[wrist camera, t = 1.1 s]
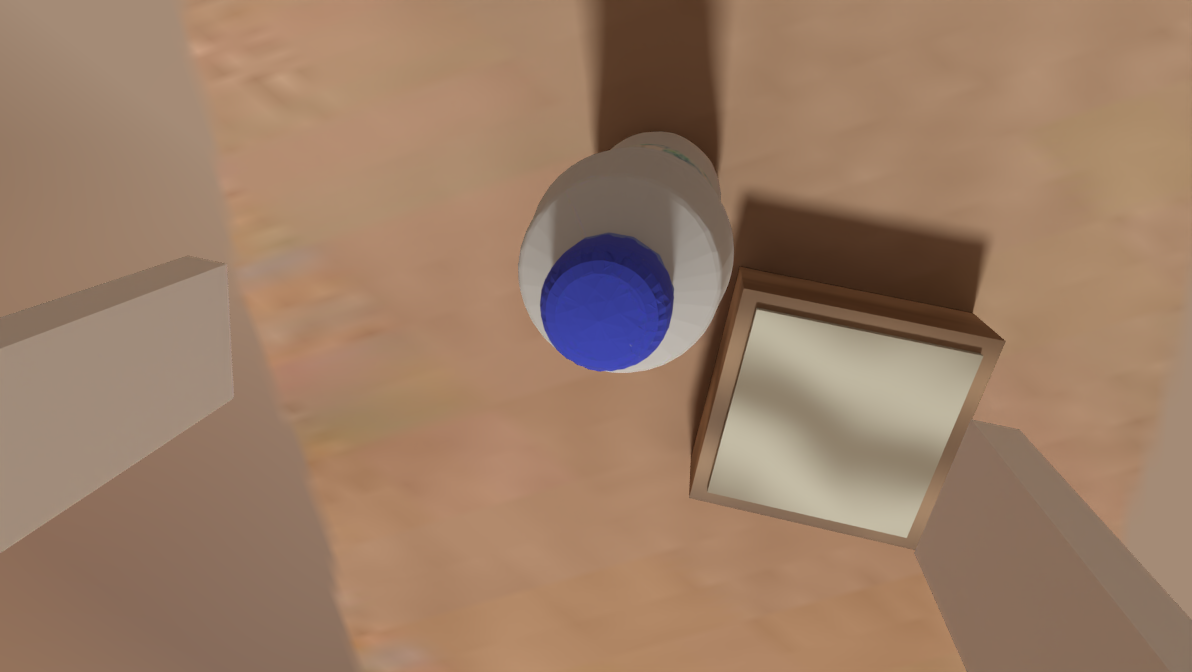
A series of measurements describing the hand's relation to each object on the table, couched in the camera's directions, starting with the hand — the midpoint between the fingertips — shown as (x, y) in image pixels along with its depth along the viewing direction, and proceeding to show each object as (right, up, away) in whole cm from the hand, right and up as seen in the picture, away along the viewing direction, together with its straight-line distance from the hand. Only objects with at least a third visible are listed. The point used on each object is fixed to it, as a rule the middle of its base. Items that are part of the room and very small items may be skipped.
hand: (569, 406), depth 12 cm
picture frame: (+13, -2, +25) cm, 28 cm away
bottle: (+4, +9, +23) cm, 25 cm away
